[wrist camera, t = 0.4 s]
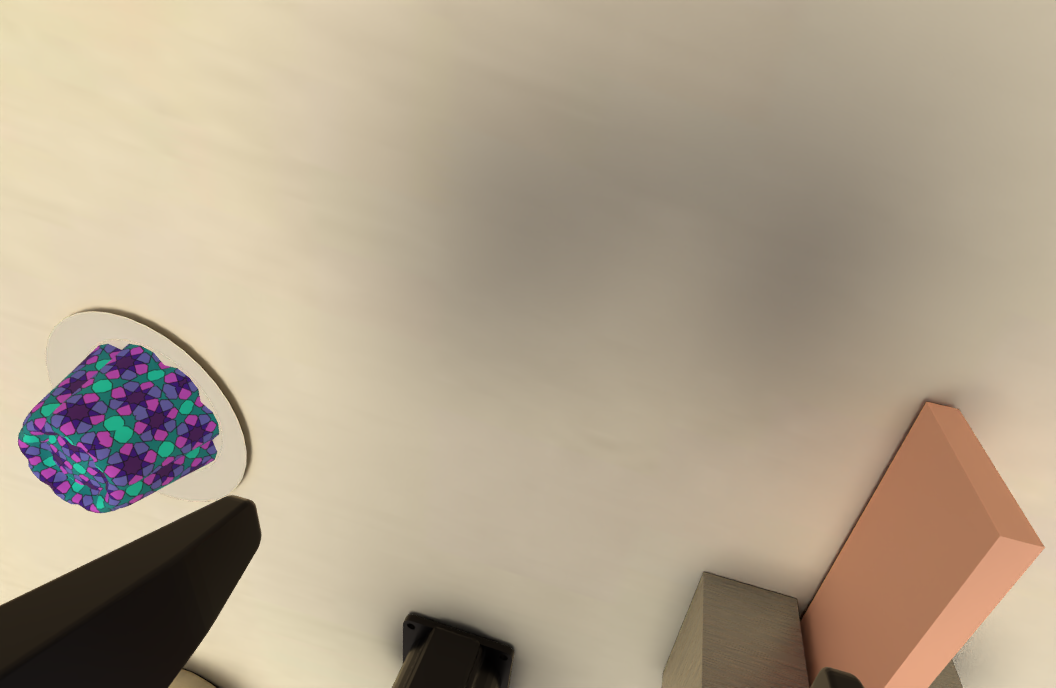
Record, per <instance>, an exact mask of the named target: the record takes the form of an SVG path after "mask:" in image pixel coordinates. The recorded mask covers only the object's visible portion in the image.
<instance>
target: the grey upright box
mask: <svg viewBox="0 0 1056 688" xmlns="http://www.w3.org/2000/svg"><path fill="white" fill-rule="evenodd" d="M662 688H809V682H808V675H807V668H806V661H805V654H804V647H803V640H802V633H801V626H800V619H799V612H798V605H797V599H795V598H792V597H788V596H785V595H781V594H778V593H775V592H771V591H768V590H764V589H761V588H757V587H754V586H751V585H747V584H744V583H740V582H737V581H734V580H730V579H727V578H723V577H720V576H716V575H713V574H710V573H706V572H703V575H702V577H701V580H700V582H699V585H698V587H697V590H696V592H695V594H694V597H693V599H692V602H691V604H690V607H689V609H688V612H687V614H686V617H685V619H684V622H683V624H682V627H681V629H680V632H679V634H678V637H677V639H676V642H675V644H674V646H673V649H672V651H671V654H670V656H669V659H668V661H667V664H666V666H665V669H664V671H663V677H662ZM928 688H963V687H962V685H961V682H960V679H959V676H958V674H957V671H956V668H955V666H954V663H953V660H952V659H951V661H950V662H949V663H948V664H947V665H946V667H945V668H944V669H943V670H942V671H941V673H940V674H939V675H938V676H937V677H936V679H935V680H934V681H933V682H932V683H931V685H930V686H929V687H928Z"/></svg>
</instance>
